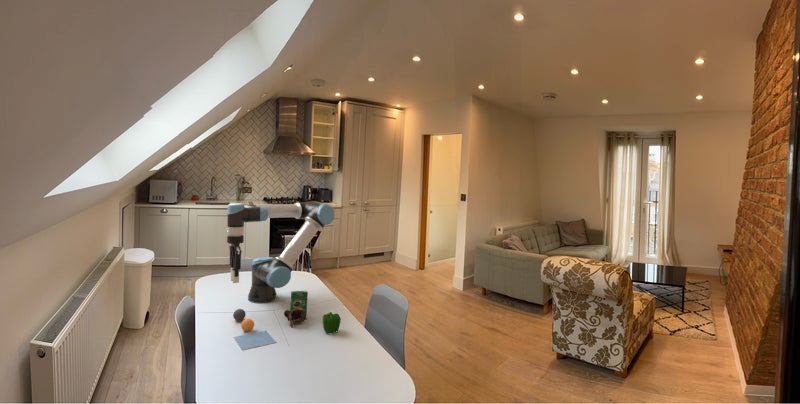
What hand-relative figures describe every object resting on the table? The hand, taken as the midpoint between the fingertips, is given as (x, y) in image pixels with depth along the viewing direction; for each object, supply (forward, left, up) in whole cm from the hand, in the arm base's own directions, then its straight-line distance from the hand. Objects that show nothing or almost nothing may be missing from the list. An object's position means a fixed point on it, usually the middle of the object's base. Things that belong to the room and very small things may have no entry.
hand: (234, 281), depth 198 cm
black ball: (0, +9, -14) cm, 17 cm away
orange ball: (0, +23, -14) cm, 27 cm away
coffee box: (-26, +18, -17) cm, 36 cm away
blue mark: (0, +34, -17) cm, 38 cm away
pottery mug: (-22, +25, -17) cm, 37 cm away
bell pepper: (-32, +42, -17) cm, 56 cm away
